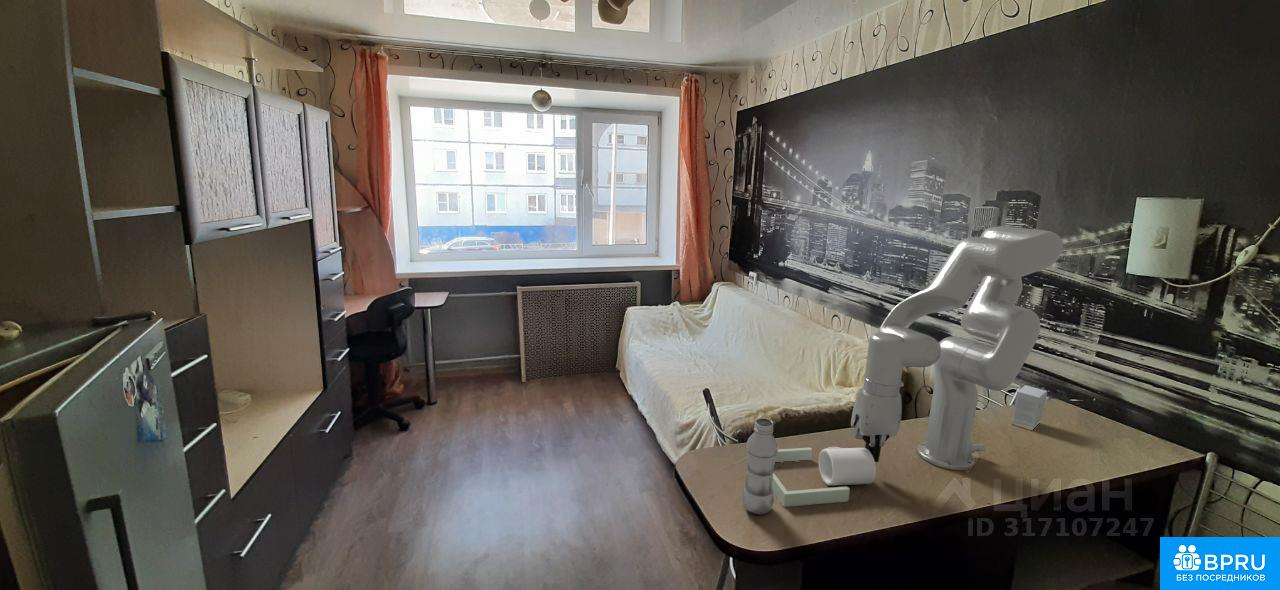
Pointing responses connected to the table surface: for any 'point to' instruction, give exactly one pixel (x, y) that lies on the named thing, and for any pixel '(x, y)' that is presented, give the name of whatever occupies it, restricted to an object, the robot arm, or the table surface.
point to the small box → (1029, 406)
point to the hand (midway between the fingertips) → (871, 459)
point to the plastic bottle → (760, 468)
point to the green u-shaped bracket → (805, 495)
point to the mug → (846, 466)
